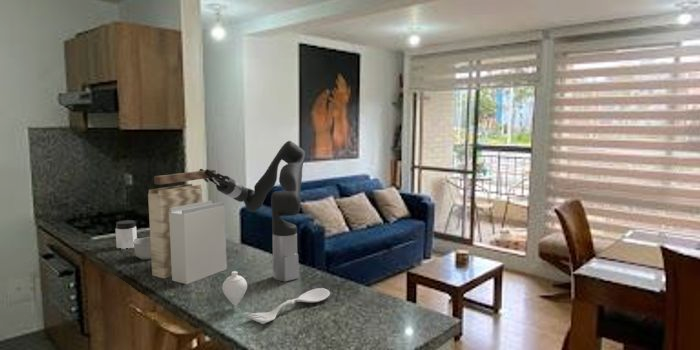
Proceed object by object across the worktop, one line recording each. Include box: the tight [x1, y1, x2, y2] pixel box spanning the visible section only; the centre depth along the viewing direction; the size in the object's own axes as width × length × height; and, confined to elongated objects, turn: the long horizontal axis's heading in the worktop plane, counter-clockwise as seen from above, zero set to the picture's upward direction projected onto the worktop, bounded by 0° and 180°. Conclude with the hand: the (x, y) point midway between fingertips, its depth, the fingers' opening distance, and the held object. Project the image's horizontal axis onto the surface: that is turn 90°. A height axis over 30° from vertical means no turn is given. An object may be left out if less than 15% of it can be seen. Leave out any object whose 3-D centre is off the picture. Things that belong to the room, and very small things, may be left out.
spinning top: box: [221, 270, 248, 309], centre depth 147 cm, size 8×8×12 cm
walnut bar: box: [153, 169, 217, 185], centre depth 187 cm, size 28×3×3 cm, turn 150°
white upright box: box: [169, 200, 228, 285], centre depth 179 cm, size 20×8×28 cm, turn 150°
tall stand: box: [147, 183, 204, 279], centre depth 184 cm, size 20×7×34 cm, turn 150°
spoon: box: [242, 287, 331, 325], centre depth 147 cm, size 9×32×4 cm, turn 141°
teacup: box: [133, 236, 151, 260], centre depth 203 cm, size 14×11×8 cm
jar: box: [115, 219, 138, 250], centre depth 219 cm, size 9×8×12 cm
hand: (202, 171), depth 194 cm, fingers closed on walnut bar, 3 cm apart
